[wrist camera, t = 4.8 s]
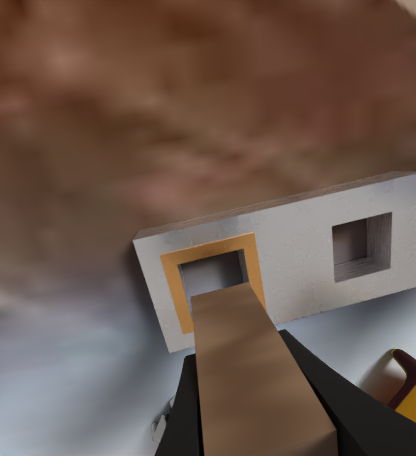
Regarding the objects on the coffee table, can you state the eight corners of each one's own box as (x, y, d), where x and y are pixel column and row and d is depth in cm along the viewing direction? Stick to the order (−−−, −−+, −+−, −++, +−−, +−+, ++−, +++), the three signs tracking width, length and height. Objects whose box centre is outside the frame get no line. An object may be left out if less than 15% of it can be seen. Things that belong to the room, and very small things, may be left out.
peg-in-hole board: (393, 171, 19) (425, 171, 17) (390, 273, 22) (417, 287, 20) (138, 230, 18) (132, 240, 15) (170, 331, 21) (169, 354, 18)
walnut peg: (248, 282, 14) (336, 429, 6) (256, 329, 15) (341, 508, 7) (190, 296, 13) (205, 469, 6) (203, 344, 14) (230, 544, 7)
